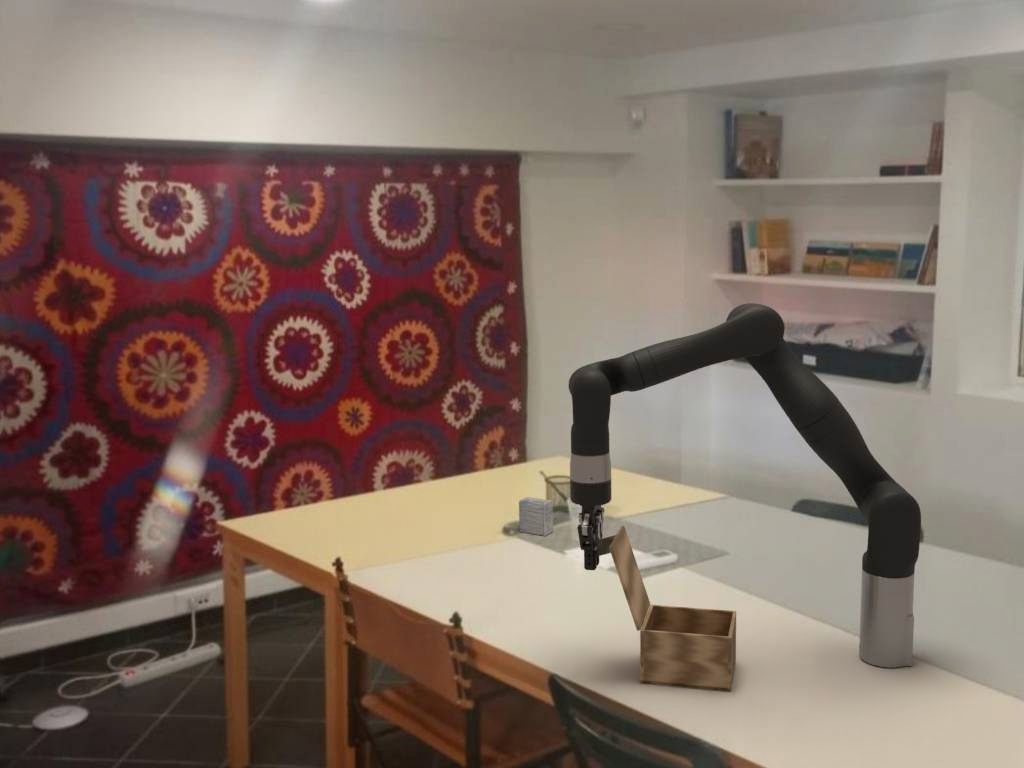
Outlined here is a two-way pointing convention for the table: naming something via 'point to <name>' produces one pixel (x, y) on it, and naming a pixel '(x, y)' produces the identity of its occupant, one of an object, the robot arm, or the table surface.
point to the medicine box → (536, 516)
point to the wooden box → (688, 647)
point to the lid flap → (627, 573)
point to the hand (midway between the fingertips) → (591, 566)
